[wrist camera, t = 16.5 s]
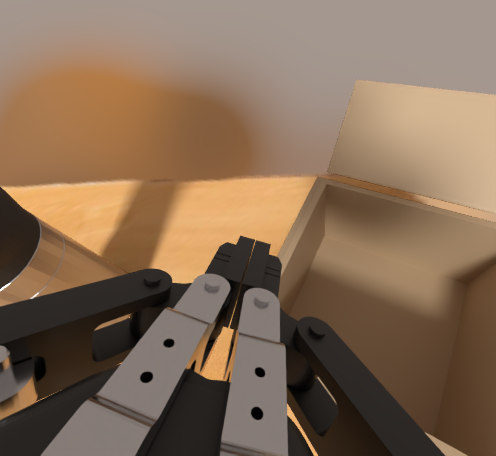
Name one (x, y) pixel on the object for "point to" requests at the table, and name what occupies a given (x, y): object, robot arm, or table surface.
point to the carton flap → (421, 142)
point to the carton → (404, 303)
